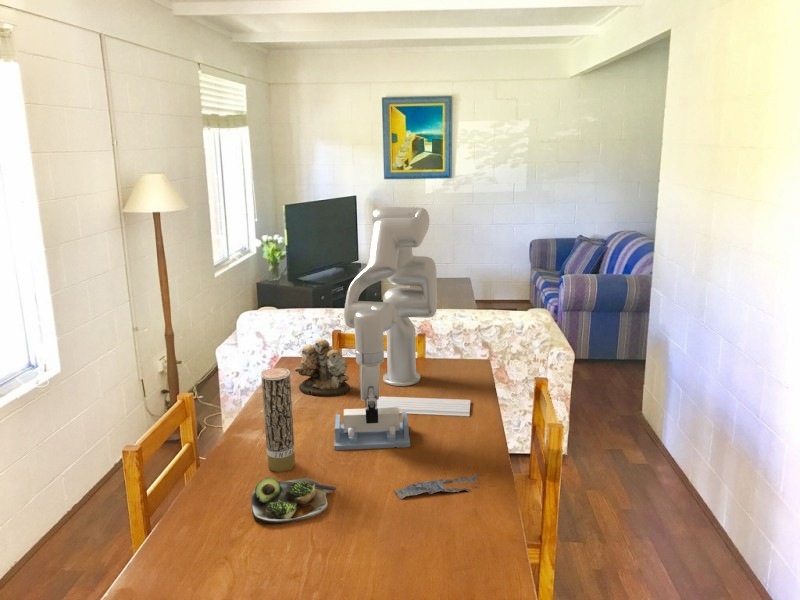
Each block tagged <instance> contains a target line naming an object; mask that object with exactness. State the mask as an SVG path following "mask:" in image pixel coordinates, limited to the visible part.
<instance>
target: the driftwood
mask: <svg viewBox="0 0 800 600" xmlns="http://www.w3.org/2000/svg"><path fill="white" fill-rule="evenodd" d="M472 482H479V480H478V476H477V473H475V474H473V475H472V476H470V477H460V478H455V479H445V478H444V479H442V478H441V479H437V480H429V481H420V482H416V483H415V482H414V483H410V484H409V485H407V487H406V486H405V487H402V488H400V489H394V492H395V494H396V495H397V496H398V499H400V500H403V499H404V498H406V497H409V496H417V495H420V494H423V493H428V494H429V495H432V494H434V493H437V492H449V493H455V492H457V493H459V492H460V491H467V492H468V493H471V491H472V490H471V489H468V488H456V487H455V488H447V487H445V486H444V485H447V484H450V483H457V484H458V483H459V484H464V483H469V485H470V486H471V487H473V489H474V490H478V489H479V488H480V486H477V485H476V486H477V487H476V486H473V483H472ZM443 484H444V485H443Z"/></svg>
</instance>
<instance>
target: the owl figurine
mask: <svg viewBox="0 0 800 600" xmlns="http://www.w3.org/2000/svg"><path fill="white" fill-rule="evenodd" d="M301 350H302V351H301V354H302V355H301V361H300V363H299V364H300V366H297V367H294V371H295V372H296V373H297V372H298V374H299V375H300V376H305V377H308V378H307V379H305V380H303V381H302V382H301V383H300V384H299V386H298V387H299V388H298V389H299V391H300V392H301V393H302V394H304V395H311V396H313V397H314V396H315V397H327V398H328V397H338V396H341V395H346V394H348V393H350V391H351V385H350V384H348V383H347V382H348V381H349V379H350V376H348V375H347V374H346V372H347V371H348V369H347V368H348V360H347V358H345V357H344V356H343V355H342V354H341V352H340V351H339V350H338V349H333V347H332V346H330V343H329V341H328V340H327V339H324V338H319V339H317V340H316V341H315V342H314V345H312V344H310V343H309V344H306V345H304V346H303V347H302V349H301Z"/></svg>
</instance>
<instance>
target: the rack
mask: <svg viewBox="0 0 800 600" xmlns="http://www.w3.org/2000/svg"><path fill="white" fill-rule="evenodd" d="M409 426H410V425H409V420H408V414H407V413H406V412H402V414H401V421H400V430H396V431H395V426H390V427H389V430H390V431H371V432H354V428H353V427H350V428H348V432H345V433H344V423H343V424H341V414H338V413H337V414H335V423H334V444H333V445H334V451H348V450H349V449H350V450H369V449H391V448H392V449H394V447H397V448H410V447H411V439H410V435H409V434H410V430H409Z"/></svg>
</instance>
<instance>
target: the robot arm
mask: <svg viewBox="0 0 800 600" xmlns="http://www.w3.org/2000/svg"><path fill="white" fill-rule="evenodd" d="M371 222H372V229H371V235H370V236H371V237H370V241H369V248H368V249H369V250H368V256H367V264H366V266H365V267H364V268H363V269H362V270H361V271H359V273H358V274H357V275H356V276H355V277H354V279H353V280H352V281H351V282H350V284H349V286H348V289H347V291H346V297H345V303H344V311H343V319H344V323H345V325H346V326H347V327H349V328H351V329H354V341H355V342H354V343H355V344H354V346H355V363H356V364H357V365H359V383H360V384H359V385H360V386H359V387H360V389H359V392H360V400H361V401H362V402H363V401H364V402H365V408H367V409H366V423H367V424H369V423H378V408H377V400H378V399H379V396H380V390H381V388H380V387H381V367H380V366H381V364H384V362H385V341H384V340H385V339H384V333H385V332H386V358H387V359H386V361H387V367H386V368H387V372H385V373H384V374H383V376H382V380H383V382H384V383H385V384H387V385H390V386H396V387H406V386H413V385H416V384H418V383H419V382H420V381H421V374H420V373H418V372H417V370H416V369H417V367H416V364H417V362H416V361H417V360H416V359H417V358H416V356H417V353H416V351H417V350H416V335H417V334H416V327H415V326H414V325H415V324H414V323H413V322H412V320H411V319H410V318H416V319H417V318H418V319H419V318H420V319H424V318H425V319H429V318H433V317H434V316H435V315H436V314H437V310H438V309H437V308H438V289H437V288H438V287H437V286H438V284H437V283H438V282H437V279H438V278H437V266H436V262H435V260H434V259H433V258H432V257H430V256H425V255H422V256H421V255H419V256H417V255H414V254H413V248H419V247H420V245H421V244H422V243H423V241H424V239H425V237H426V235H427V233H428V231H429V227H430V215H429V213H428V210H427V209H425V208H424V207H417V206H416V207H415V206H412V207H411V206H409V207H407V206H405V207H404V206H403V207H401V206H381V207H378V208H377V207H376V209H374V210H373V211H372V215H371ZM385 279H387V281H388V282H389V284H391V285H395V286H404V287H392V288H389V289H387V290H386V291H385V293H384V294H383V297H382V298H383V299H382V301H366V300H364V301H363V300H359V297H360V295H361V294H362V293H363V291H365V290H366V289H367V288H368V287H370V286H371V285H374V284H375V283H379V282H381V281H383V280H385ZM405 286H407V287H405ZM408 286H410V287H408ZM414 287H415V288H414ZM419 287H420V288H419Z"/></svg>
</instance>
